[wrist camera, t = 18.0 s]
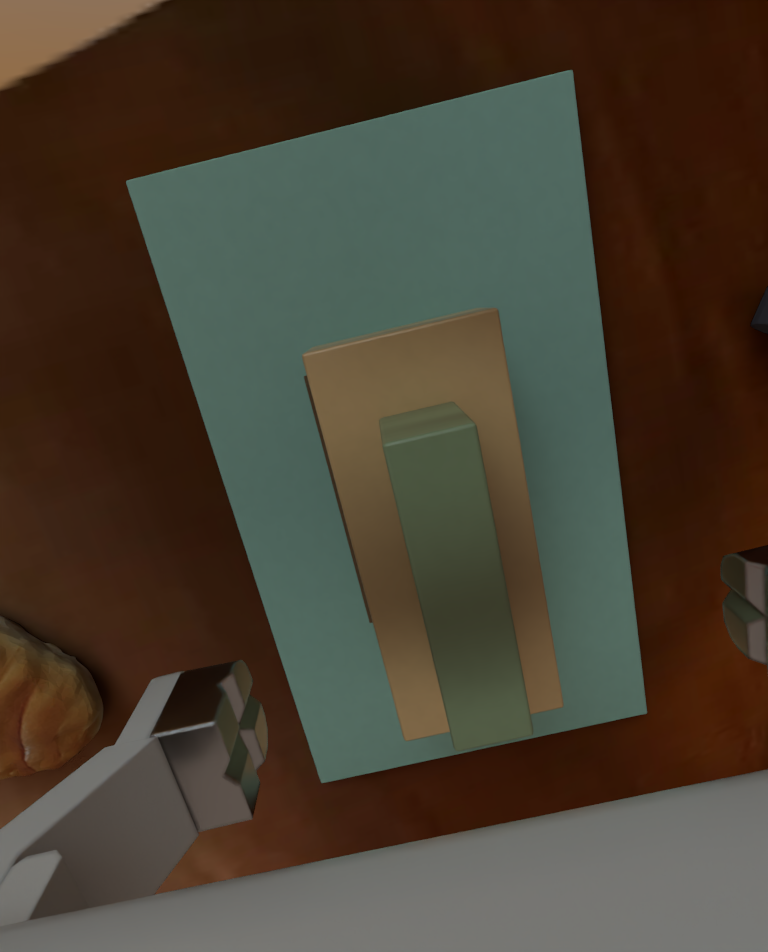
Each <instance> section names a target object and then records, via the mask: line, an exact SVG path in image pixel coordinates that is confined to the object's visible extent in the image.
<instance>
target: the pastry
mask: <svg viewBox="0 0 768 952" xmlns="http://www.w3.org/2000/svg"><path fill="white" fill-rule="evenodd" d="M102 719H103V703H102V699H101V696H100V694H99V691H98V688H97V686H96V684H95V682H94V680H93V678H92V676H91V674H90V672H89V671H88V670H87V669H86V668H85V667H84V666H83V665H82V664H80V663H79V662H78V661H77V660H76V657H75V656H74V657H73V656H69V655H66V654H64V653H62V651H61V649H60V648H58V647H57V646H56V645H54V644H52V643H44V642H42V641H40V640H39V639H37V638H35V637H34V636H32V635H30V634H29V633H27V632H26V631H25V630H24V629H23V628H22V626H20V625H19V624H17V623H14V622H12V621H10V620H9V619H7V618H5V617H3V616H0V779H5V778H10V777H14V776H29V775H32V774H34V773H36V772H39V771H43V770H48V769H57V768H60V767H61V766H63V765H64V764H65V763H66V762H67V761H68V760H70V759H71V758H72V757H74V756H75V755H76V754H77V753H79V752H80V751H81V750H82V749H83V748H84V747H85V745H87V744H88V743H89V742H90V740H92V739H93V737H94V736H95V735H96V733H97V732H98V731H99V729H100V726H101V722H102Z"/></svg>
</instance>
